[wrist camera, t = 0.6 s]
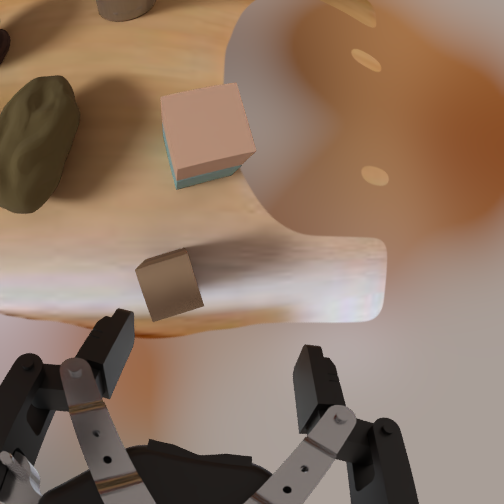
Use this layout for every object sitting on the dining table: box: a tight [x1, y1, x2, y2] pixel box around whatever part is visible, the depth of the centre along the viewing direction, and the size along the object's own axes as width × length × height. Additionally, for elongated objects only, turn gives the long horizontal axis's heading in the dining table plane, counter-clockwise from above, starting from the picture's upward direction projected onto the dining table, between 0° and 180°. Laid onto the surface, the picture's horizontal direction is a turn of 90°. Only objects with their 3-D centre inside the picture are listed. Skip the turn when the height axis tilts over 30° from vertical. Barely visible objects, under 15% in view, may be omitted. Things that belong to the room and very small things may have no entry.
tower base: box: [162, 123, 242, 190], centre depth 33 cm, size 7×7×6 cm
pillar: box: [135, 248, 204, 322], centre depth 31 cm, size 5×5×10 cm
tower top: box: [161, 83, 256, 181], centre depth 27 cm, size 7×7×6 cm
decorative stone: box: [0, 76, 80, 214], centre depth 26 cm, size 17×11×10 cm, turn 168°
